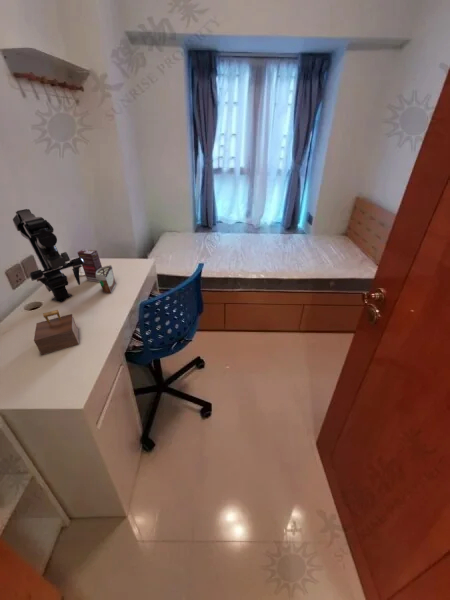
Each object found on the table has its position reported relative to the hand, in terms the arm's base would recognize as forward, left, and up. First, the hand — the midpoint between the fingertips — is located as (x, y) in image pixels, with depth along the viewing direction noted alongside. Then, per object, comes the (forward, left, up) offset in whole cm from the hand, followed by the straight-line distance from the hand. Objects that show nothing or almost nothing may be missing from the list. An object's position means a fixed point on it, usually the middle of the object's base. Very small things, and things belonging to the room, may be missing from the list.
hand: (67, 289), depth 111 cm
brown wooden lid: (+4, -13, -8) cm, 16 cm away
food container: (-7, +24, -15) cm, 29 cm away
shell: (-33, +34, -14) cm, 49 cm away
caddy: (+4, -13, -15) cm, 20 cm away
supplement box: (-20, +30, -15) cm, 39 cm away
